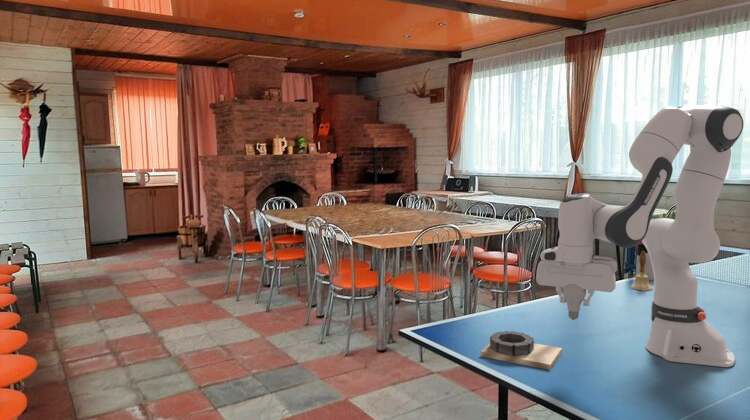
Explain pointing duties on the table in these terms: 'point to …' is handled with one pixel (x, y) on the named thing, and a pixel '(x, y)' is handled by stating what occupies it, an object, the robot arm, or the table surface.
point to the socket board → (534, 360)
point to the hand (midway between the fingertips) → (574, 303)
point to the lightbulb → (573, 299)
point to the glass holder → (648, 266)
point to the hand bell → (642, 276)
